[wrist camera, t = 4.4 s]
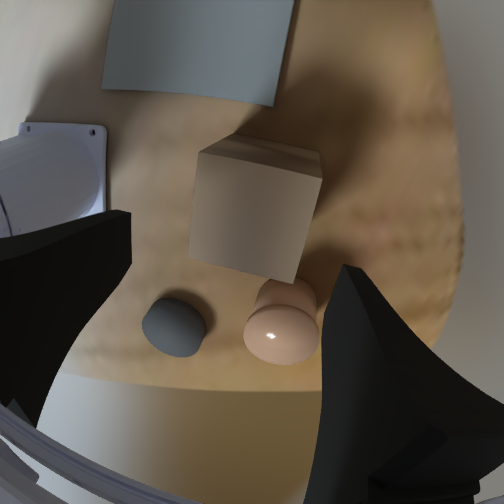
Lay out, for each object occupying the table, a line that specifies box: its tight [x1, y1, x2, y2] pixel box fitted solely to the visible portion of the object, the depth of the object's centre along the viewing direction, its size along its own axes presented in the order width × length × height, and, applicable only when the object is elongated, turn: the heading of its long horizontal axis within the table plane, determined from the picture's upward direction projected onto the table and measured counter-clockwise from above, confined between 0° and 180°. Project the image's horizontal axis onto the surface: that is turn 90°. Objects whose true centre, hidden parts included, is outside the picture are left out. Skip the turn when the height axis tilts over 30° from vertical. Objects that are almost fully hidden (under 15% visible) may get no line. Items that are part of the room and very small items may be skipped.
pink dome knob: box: [244, 277, 319, 365], centre depth 20 cm, size 5×5×4 cm
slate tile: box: [101, 0, 295, 107], centre depth 14 cm, size 11×11×1 cm
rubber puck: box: [142, 298, 206, 357], centre depth 25 cm, size 5×5×2 cm
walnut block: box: [188, 133, 323, 284], centre depth 16 cm, size 5×5×6 cm
